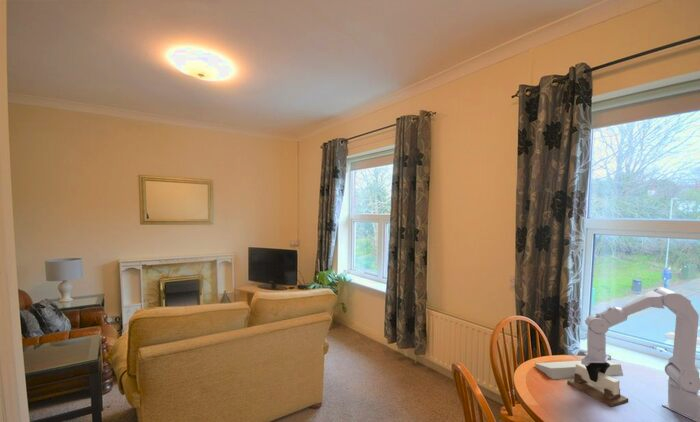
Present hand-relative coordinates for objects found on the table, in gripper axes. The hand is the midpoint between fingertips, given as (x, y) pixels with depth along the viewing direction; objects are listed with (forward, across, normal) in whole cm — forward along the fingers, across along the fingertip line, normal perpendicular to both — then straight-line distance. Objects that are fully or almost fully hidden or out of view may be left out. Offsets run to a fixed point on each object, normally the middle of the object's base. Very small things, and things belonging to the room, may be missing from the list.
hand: (596, 379), depth 118 cm
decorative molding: (+6, -10, -13) cm, 17 cm away
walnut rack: (+5, 0, 0) cm, 5 cm away
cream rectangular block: (+2, 0, 0) cm, 2 cm away
